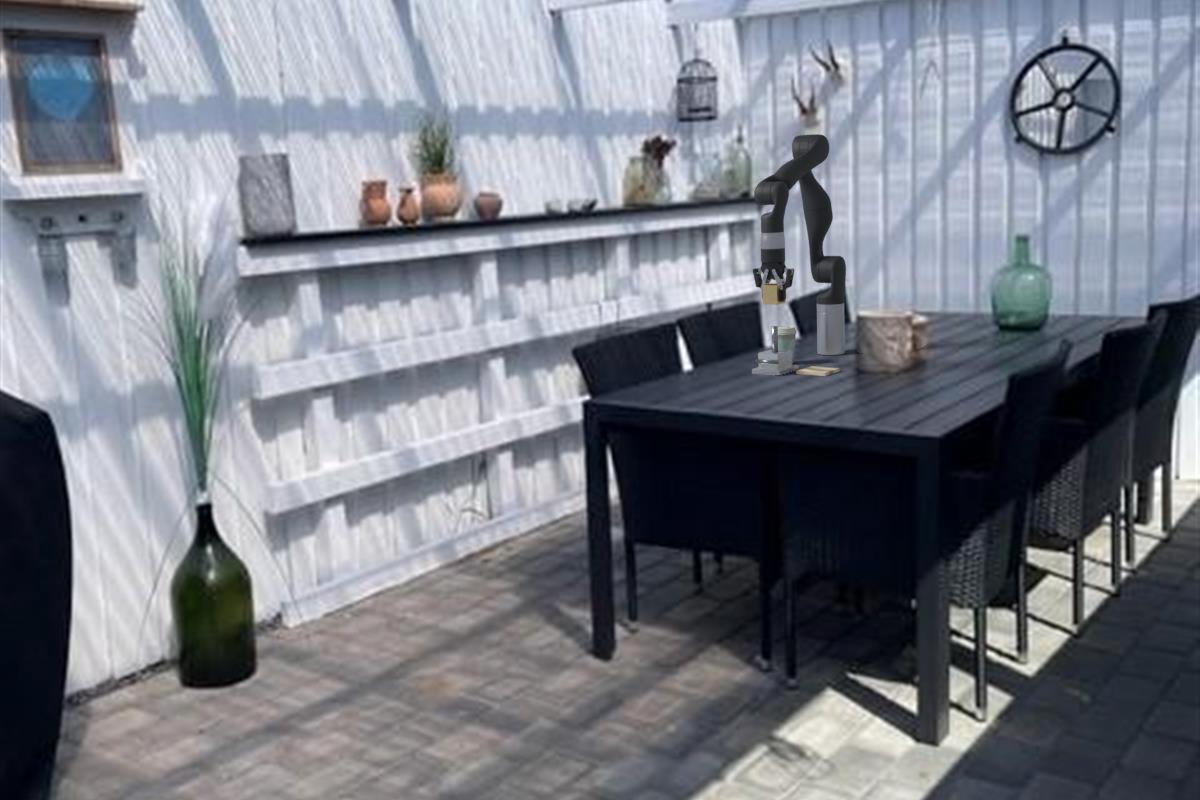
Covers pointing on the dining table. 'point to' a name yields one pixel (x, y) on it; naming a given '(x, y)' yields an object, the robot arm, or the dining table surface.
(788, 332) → the coffee cup
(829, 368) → the beige pad
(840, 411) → the dining table surface
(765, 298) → the collar
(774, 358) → the block
